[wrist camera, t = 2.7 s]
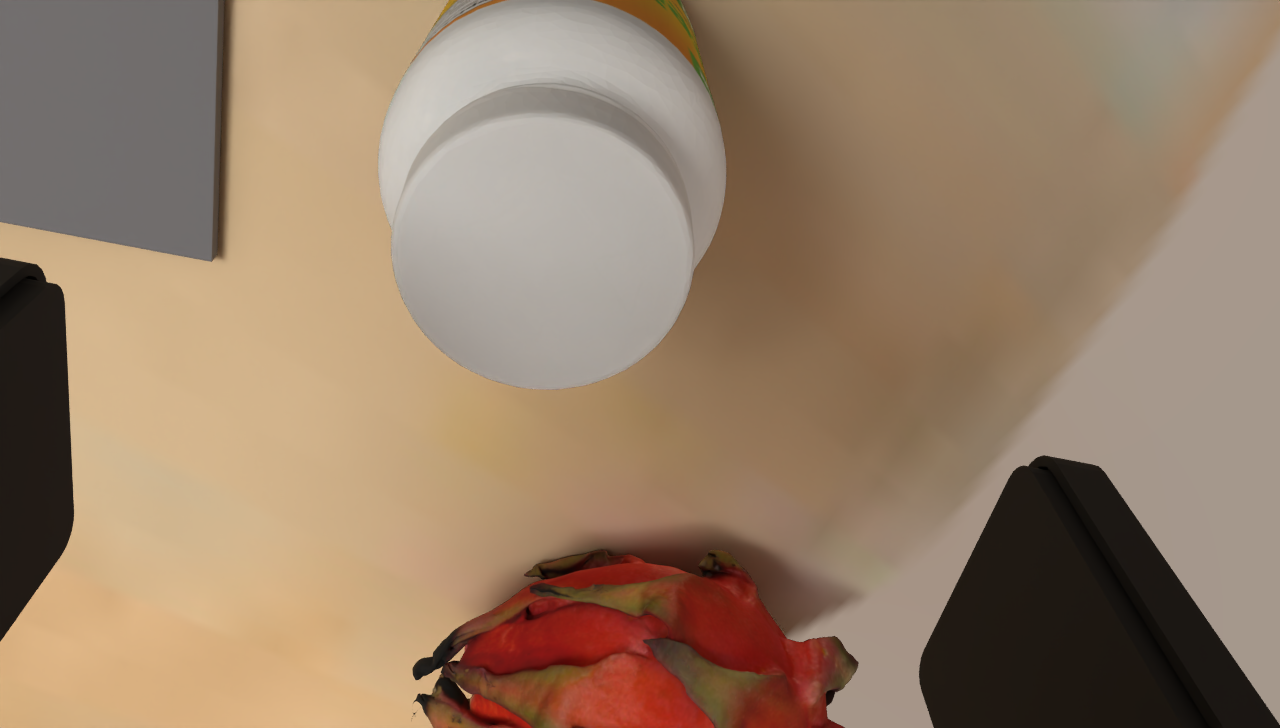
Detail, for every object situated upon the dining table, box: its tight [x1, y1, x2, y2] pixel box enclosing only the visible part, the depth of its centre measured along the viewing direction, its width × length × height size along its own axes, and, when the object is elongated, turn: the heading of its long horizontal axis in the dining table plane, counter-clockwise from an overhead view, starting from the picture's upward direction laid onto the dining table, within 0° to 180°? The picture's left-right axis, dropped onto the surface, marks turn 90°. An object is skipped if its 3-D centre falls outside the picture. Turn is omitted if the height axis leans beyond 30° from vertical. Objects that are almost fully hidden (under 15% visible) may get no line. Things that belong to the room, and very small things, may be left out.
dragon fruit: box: [411, 550, 858, 728], centre depth 27 cm, size 8×8×12 cm
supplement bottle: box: [378, 0, 726, 390], centre depth 18 cm, size 5×5×10 cm
